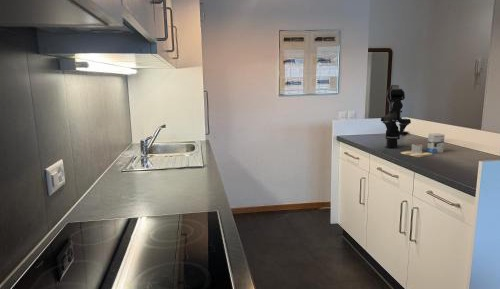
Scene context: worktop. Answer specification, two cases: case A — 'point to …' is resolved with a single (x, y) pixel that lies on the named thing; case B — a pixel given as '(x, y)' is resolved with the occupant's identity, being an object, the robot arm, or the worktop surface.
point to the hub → (416, 149)
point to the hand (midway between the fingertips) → (394, 133)
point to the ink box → (435, 143)
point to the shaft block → (417, 154)
